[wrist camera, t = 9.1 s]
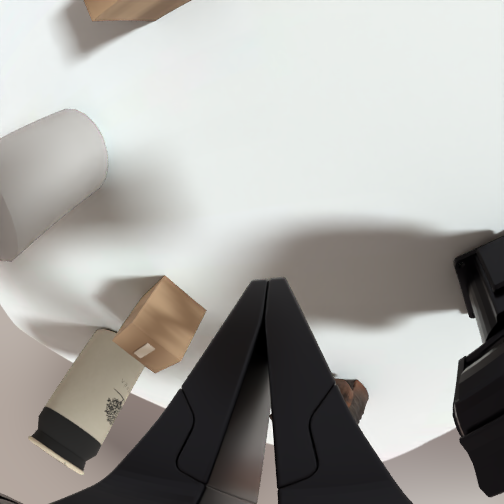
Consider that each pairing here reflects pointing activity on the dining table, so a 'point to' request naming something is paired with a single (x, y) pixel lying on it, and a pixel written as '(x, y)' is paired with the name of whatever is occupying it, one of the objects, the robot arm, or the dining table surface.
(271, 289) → the robot arm
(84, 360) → the travel mug
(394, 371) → the dining table surface
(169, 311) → the marked block 2
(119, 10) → the marked block 1
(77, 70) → the dining table surface
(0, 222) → the can
